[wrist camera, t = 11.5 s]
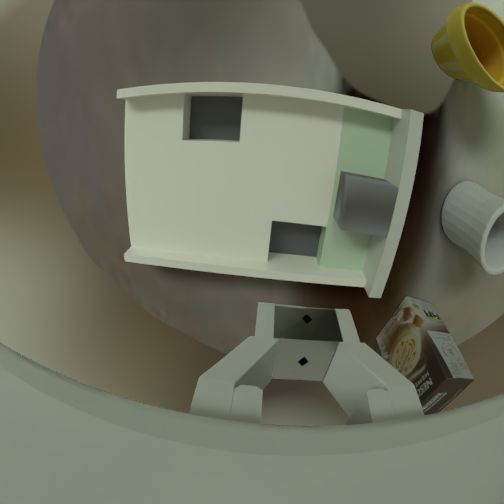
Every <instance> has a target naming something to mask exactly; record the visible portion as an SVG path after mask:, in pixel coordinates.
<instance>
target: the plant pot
mask: <svg viewBox="0 0 504 504" xmlns="http://www.w3.org/2000/svg"><path fill="white" fill-rule="evenodd" d="M431 47H432V53H433V56H434V58H435V60H436V62H437V64H438V65H439V67H440V68H441V69H442V70H443V71H444V72H445V73H446V74H447V75H449V76H450V77H452V78H455V79H459V80H464V81H469V82H473V83H477V84H478V85H479V86H481V87H482V88H484V89H486V90H489V91H493V92H504V22H503V21H502V20H501V19H500V17H499V16H498V15H496V14H495V13H494V12H493V11H492V10H490V9H489V8H487V7H486V6H484V5H481V4H478V3H467V4H464V5H462V6H460V7H458V8H456V9H455V10H453V11H452V12H451V13H450V14H449V15H448V17H447V22H446V25H444V27H442V28H441V30H440V31H439V32H438V33H437V34H436V35H435V36H434V37H433V40H432V45H431Z"/></svg>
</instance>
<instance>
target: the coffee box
mask: <svg viewBox="0 0 504 504" xmlns="http://www.w3.org/2000/svg"><path fill="white" fill-rule="evenodd" d="M376 339H377V342H378V345H379V348H380V351H381V354H382V357H383V359H384V360H385V361H387V362H388V363H389V364H390V365H391V366H392V367H394V368H395V369H396V370H397V371H398V372H400V373H401V374H402V375H403V376H404V377H406V378H407V379H408V380H409V381H410V382H412V383H413V384H414V386H415V388H416V391H417V394H418V397H419V400H420V403H421V406H422V409H423V412H424V415H429V414H434V413H438V412H439V411H441V410H442V409H443V408H444V407H445V406H446V405H448V404H449V403H450V402H451V401H452V400H453V399H454V398H455V397H457V396H458V395H459V394H460V393H461V392H462V391H463V390H464V389H465V388H466V387H467V386H468V385H469V384H470V383H471V382H472V381H473V380H474V378H473V376H472V375H471V372H470V370H469V368H468V366H467V364H466V362H465V360H464V359H463V357H462V355H461V353H460V351H459V349H458V347H457V346H456V344H455V342H454V340H453V338H452V337H451V335H450V333H449V331H448V330H447V328H446V326H445V325H444V323H443V321H442V320H441V318H440V316H439V315H438V313H437V311H436V310H435V308H434V307H433V305H432V304H430V303H427V302H424V301H421V300H418V299H415V298H412V297H408V296H406V297H405V298H404V300H403V301H402V303H401V304H400V306H399V307H398V309H397V310H396V312H395V313H394V314H393V316H392V317H391V319H390V320H389V321H388V323H387V324H386V325H385V327H384V328H383V329H382V331H381V332H380V334H379V335H378V336H377V338H376Z"/></svg>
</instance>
